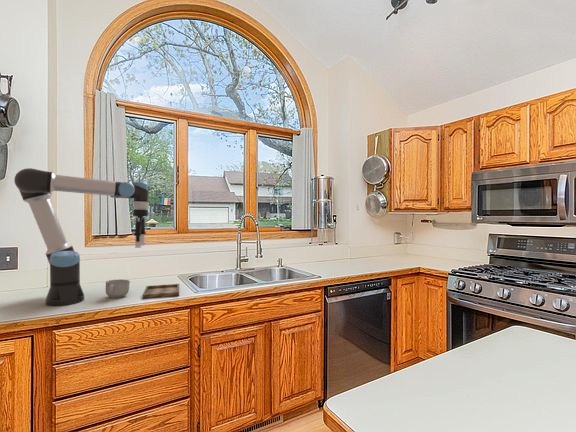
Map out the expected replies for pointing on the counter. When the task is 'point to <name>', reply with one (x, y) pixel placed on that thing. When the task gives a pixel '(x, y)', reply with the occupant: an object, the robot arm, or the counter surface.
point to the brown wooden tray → (161, 291)
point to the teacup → (117, 288)
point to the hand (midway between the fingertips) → (140, 246)
